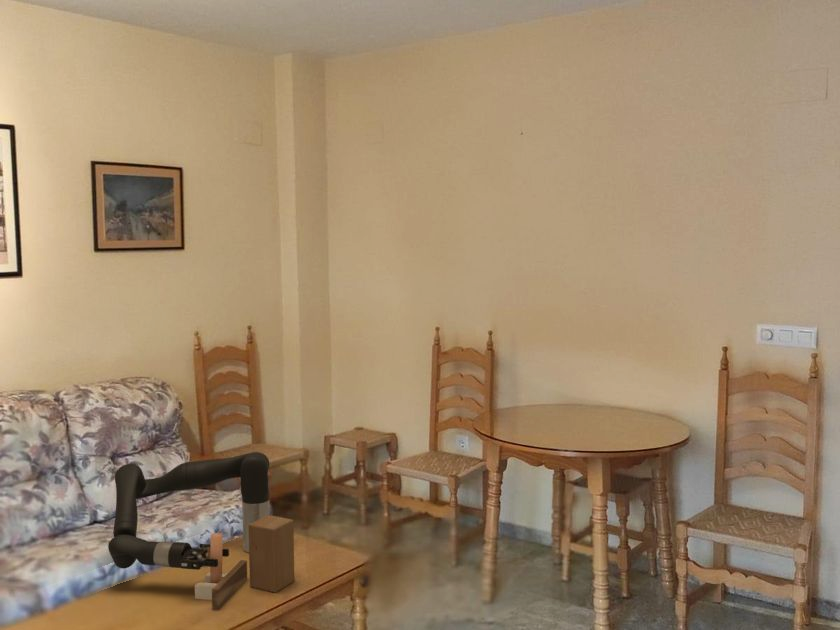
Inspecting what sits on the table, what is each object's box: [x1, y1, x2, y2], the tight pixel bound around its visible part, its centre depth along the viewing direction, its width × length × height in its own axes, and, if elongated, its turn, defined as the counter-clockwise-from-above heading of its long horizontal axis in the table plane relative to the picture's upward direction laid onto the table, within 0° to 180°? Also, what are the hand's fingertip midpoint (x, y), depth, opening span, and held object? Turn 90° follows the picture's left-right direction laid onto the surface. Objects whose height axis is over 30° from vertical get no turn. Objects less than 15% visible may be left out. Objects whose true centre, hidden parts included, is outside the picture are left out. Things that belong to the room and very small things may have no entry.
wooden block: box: [248, 514, 295, 593], centre depth 254 cm, size 10×10×20 cm
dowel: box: [209, 532, 224, 584], centre depth 248 cm, size 4×4×18 cm
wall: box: [211, 559, 248, 611], centre depth 248 cm, size 2×22×6 cm, turn 170°
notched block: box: [194, 571, 228, 601], centre depth 249 cm, size 8×10×4 cm
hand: (223, 557), depth 248 cm, fingers open, 7 cm apart
